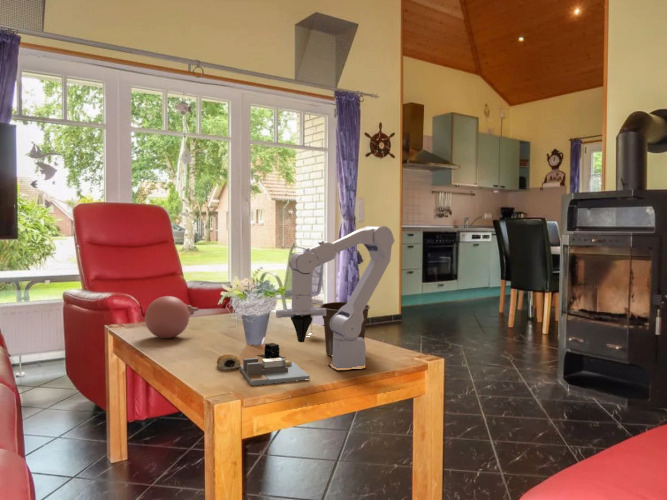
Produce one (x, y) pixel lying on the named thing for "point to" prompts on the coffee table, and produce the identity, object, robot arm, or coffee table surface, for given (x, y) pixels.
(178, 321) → the balloon
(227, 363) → the pastry
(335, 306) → the plant pot
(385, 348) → the coffee table surface
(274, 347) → the black block
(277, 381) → the door board
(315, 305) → the wineglass
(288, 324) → the coffee table surface
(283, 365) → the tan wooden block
